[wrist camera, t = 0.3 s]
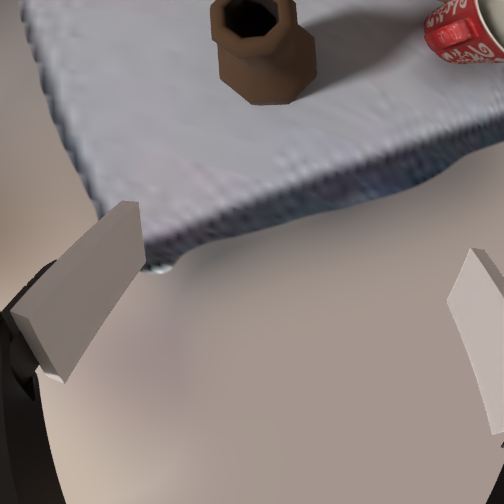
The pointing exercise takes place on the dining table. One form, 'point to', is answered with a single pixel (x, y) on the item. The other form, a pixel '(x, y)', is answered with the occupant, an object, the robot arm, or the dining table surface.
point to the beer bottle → (262, 49)
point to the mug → (467, 31)
